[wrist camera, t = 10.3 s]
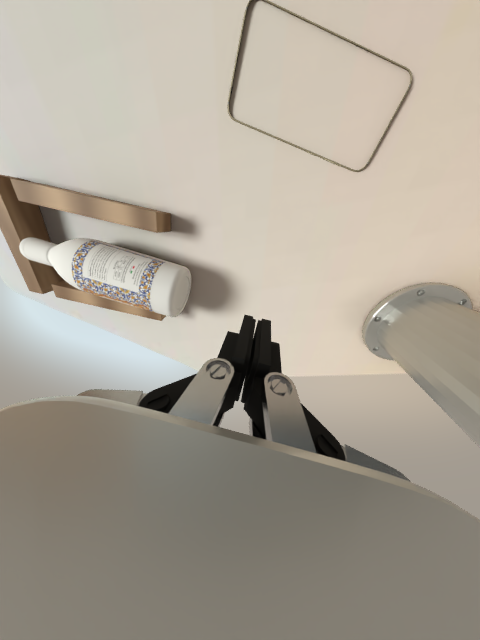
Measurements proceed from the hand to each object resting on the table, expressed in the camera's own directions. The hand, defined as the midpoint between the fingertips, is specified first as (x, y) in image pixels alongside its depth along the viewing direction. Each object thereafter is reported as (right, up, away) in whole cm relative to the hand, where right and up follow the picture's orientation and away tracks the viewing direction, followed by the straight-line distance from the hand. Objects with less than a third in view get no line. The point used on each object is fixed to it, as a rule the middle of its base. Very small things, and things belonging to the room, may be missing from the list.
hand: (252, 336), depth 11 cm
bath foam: (-8, +5, +12) cm, 15 cm away
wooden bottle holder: (-21, +11, +14) cm, 27 cm away
